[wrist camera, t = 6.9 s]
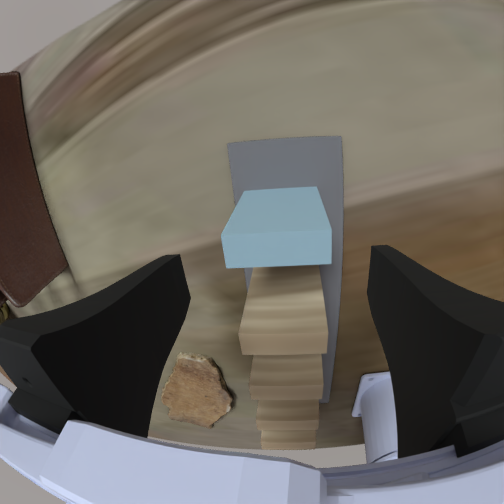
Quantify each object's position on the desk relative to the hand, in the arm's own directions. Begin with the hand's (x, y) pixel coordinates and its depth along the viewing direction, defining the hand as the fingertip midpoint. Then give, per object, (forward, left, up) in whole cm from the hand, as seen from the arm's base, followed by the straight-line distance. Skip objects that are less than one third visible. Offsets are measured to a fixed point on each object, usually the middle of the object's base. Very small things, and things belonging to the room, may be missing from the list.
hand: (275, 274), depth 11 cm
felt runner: (0, +9, -9) cm, 13 cm away
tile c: (0, +14, -9) cm, 17 cm away
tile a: (0, +5, -9) cm, 10 cm away
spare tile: (0, 0, -9) cm, 9 cm away
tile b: (0, +10, -9) cm, 13 cm away
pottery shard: (+11, +21, -10) cm, 26 cm away
